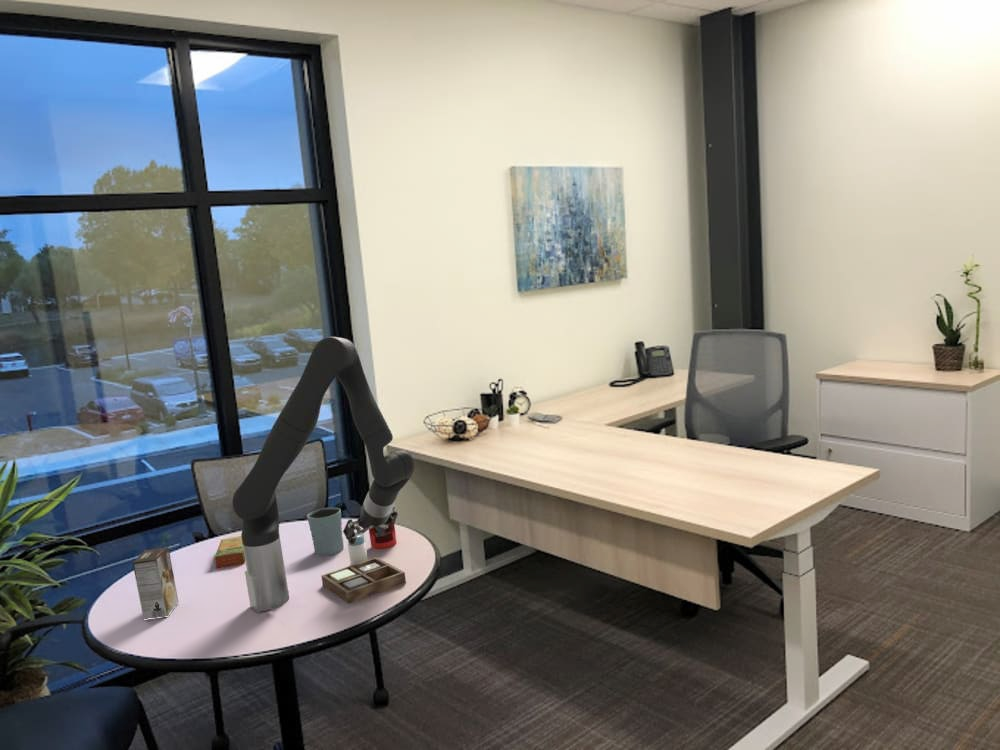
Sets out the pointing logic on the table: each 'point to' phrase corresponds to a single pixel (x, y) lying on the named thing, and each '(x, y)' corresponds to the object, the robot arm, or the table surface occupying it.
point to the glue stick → (358, 550)
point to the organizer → (376, 579)
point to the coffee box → (155, 583)
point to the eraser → (355, 583)
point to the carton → (230, 552)
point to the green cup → (326, 530)
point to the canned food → (383, 537)
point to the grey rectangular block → (369, 567)
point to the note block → (342, 575)
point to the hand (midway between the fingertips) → (365, 537)
